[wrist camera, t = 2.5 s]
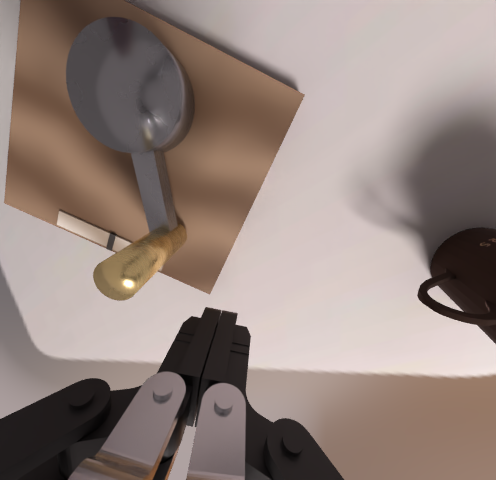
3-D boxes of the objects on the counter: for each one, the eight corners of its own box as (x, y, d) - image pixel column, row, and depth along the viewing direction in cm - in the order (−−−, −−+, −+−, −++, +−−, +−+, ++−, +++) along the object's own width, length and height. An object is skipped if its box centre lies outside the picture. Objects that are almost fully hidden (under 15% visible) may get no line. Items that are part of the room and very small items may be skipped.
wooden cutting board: (46, -34, 16) (20, -56, 15) (301, 100, 18) (305, 93, 16) (21, 200, 22) (0, 203, 20) (213, 286, 24) (209, 296, 22)
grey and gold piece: (87, 50, 16) (-77, -48, 8) (185, 34, 15) (103, -89, 8) (138, 249, 21) (63, 302, 13) (215, 245, 20) (182, 298, 12)
